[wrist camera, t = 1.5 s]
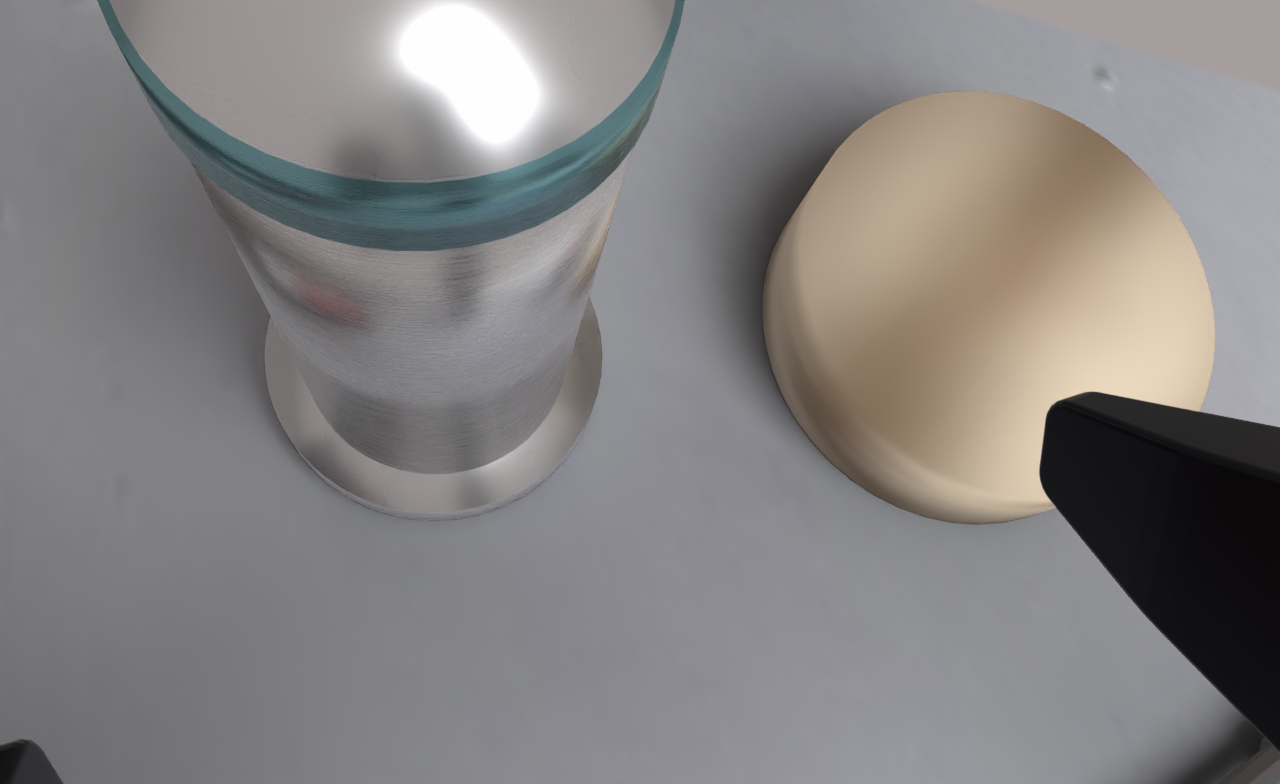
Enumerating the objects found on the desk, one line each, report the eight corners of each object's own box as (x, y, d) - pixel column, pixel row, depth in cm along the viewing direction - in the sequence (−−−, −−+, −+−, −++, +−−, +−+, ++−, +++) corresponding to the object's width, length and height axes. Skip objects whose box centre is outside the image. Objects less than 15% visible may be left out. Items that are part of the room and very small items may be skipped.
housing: (658, 371, 22) (885, -19, 10) (429, 590, 20) (368, 421, 8) (448, 168, 23) (426, -426, 11) (202, 355, 21) (-179, -138, 8)
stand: (1195, 340, 25) (1286, 296, 23) (987, 612, 22) (1064, 600, 19) (919, 93, 26) (973, 20, 23) (680, 317, 23) (709, 264, 20)
